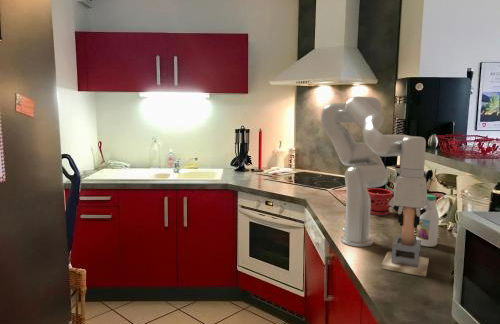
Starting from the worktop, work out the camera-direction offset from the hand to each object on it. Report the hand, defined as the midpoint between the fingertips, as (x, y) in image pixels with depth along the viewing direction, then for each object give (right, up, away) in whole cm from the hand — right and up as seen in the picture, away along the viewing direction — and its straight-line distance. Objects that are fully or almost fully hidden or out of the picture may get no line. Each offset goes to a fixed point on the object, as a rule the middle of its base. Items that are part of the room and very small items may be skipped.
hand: (408, 225), depth 138 cm
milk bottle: (+17, -12, +24) cm, 32 cm away
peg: (0, -7, +1) cm, 7 cm away
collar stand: (0, -14, +2) cm, 14 cm away
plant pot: (+12, -5, +69) cm, 71 cm away
